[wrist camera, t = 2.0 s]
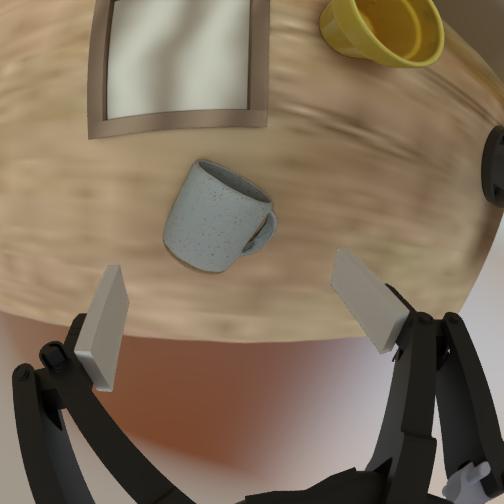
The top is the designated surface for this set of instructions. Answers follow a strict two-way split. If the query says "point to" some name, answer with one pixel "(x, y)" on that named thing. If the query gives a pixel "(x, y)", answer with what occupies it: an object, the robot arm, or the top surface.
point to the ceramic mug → (217, 219)
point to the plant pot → (385, 31)
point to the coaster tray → (177, 65)
